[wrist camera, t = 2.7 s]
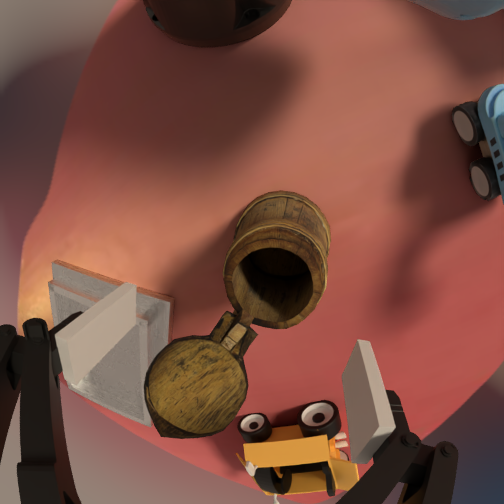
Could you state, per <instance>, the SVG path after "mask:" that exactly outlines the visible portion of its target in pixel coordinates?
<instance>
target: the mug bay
mask: <svg viewBox="0 0 504 504" xmlns="http://www.w3.org/2000/svg"><path fill="white" fill-rule="evenodd" d="M52 272H53V280H51V281H49V282H48V286H49V294H50V302H51V309H52V315H53V321H54V327H55V326H56V325H58V324H59V323H61V322H62V321H63V320H64V319H66V318H67V317H69V316H70V315H71V314H73V313H76V312H79V311H81V312H85V311H87V310H88V309H89V308H91V307H92V306H93V305H95V304H96V303H97V302H99V301H100V300H102V299H103V298H104V297H106V296H107V295H108V294H110V293H111V292H113V291H114V290H115V289H117V288H118V287H120V286H121V285H122V284H124V282H121V281H118V280H115V279H112V278H109V277H106V276H103V275H100V274H97V273H94V272H91V271H88V270H85V269H83V268H80V267H77V266H74V265H71V264H68V263H66V262H63V261H60V260H55V261H53V262H52ZM173 310H174V297H170V296H167V295H163V294H160V293H157V292H153V291H150V290H147V289H143V288H140V287H136V324H135V325H134V326H133V327H132V328H131V329H130V330H129V331H128V332H127V333H126V335H125V336H124V337H123V338H122V339H121V340H120V341H119V342H118V343H117V344H116V345H115V346H114V347H113V348H112V349H111V350H110V351H109V352H108V353H107V354H106V355H105V356H104V357H103V358H102V359H101V360H100V361H99V362H98V363H97V364H96V365H95V366H94V367H93V368H92V369H91V371H90V372H89V373H88V374H87V375H86V376H85V377H84V378H83V379H82V380H81V381H80V382H79V383H78V384H77V385H74V384H72V383H70V382H69V381H67V384H68V387H69V389H71V390H72V391H74V392H76V393H78V394H80V395H82V396H83V397H85V398H87V399H89V400H91V401H93V402H95V403H97V404H99V405H101V406H103V407H105V408H107V409H109V410H112V411H114V412H116V413H118V414H120V415H122V416H125V417H127V418H129V419H132V420H134V421H136V422H139V423H141V424H144V425H146V426H149V427H152V425H153V421H152V419H151V417H150V415H149V412H148V410H147V407H146V403H145V399H144V381H145V376H146V372H147V370H148V368H149V366H150V364H151V362H152V361H153V359H154V358H155V357H156V355H157V354H158V353H159V352H160V351H161V350H162V349H163V348H164V347H165V346H166V345H168V344H169V343H170V342H172V325H173Z"/></svg>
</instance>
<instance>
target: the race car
mask: <svg viewBox="0 0 504 504" xmlns="http://www.w3.org/2000/svg"><path fill="white" fill-rule="evenodd" d="M297 421H298V424H299V425H293V426H286V427H277V428H272V427H271V425H270V423H269V420H268V418H267V417H266V415H264V414H262V413H253V414H248V415H246V416H244V417H243V418H242V419H241V420H240V421H239V423H238V430H239V432H240V433H241V435H242V437H243V439H244V440H245V441H246V442H247V444H243V446H244V454H245V461H246V463H245V462H244V460H243V459H242V458H241V457H240V456H239V455H238V453H235V454H236V455H237V457H238V458H239V460H240V461H241V463H242V464H243V466H244V467H245V468H246V470H247V472H248V473H249V474H250V476H251V477H252V478H253V480H254V481H255V482H256V484H257V485H258V486H259V487H260V488H261V490H262V491H263V492H264V493H265V494H266V495H274V503H273V504H279V502H278V501H277V500H276V497H277V495H284V494H299V493H309V492H318V491H326V490H327V493H328V495H329V496H335V489H342V490H347V491H349V490H350V489H351V488H352V487H353V486H354V485H355V484H356V483H357V482H358V481H359V476H358V470H357V463H352V462H351V461H349V458H348V455H347V454H346V453H345V452H343V451H341V450H339V449H336V448H341V447H346V446H348V444H347V442H346V441H345V440H342V441H338V442H335V439H336V440H337V439H343V438H347V437H346V435H345V433H344V432H343V431H342V432H339V431H340V429H341V420H340V415H339V411H338V408H337V406H336V405H335V404H334V403H333V402H330V401H326V400H321V401H316V402H311V403H309V404H307V405H306V406H304V407H303V408H302V409H301V410H300V412H299V413H298V416H297Z"/></svg>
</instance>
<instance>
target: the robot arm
mask: <svg viewBox="0 0 504 504" xmlns="http://www.w3.org/2000/svg"><path fill="white" fill-rule="evenodd" d="M291 1H292V0H143V2H144V5H145V7H146V11H147V13H148V16H149V18H150V19H151V21H152V22H153V24H154V25H155V26H156V27H157V28H158V29H160V30H161V31H162V32H163V33H164V34H166V35H167V36H168V37H170V38H171V39H173V40H175V41H177V42H179V43H182V44H185V45H189V46H195V47H218V46H225V45H230V44H234V43H238V42H241V41H244V40H246V39H249V38H251V37H254V36H256V35H258V34H260V33H261V32H263V31H265V30H266V29H268V28H269V27H270V26H272V25H273V24H274V23H275V22H277V21H278V20H279V19H280V18H281V17H282V15H283V14H284V13H285V12H286V10H287V9H288V7H289V5H290V3H291ZM408 1H410V2H412V3H415V4H417V5H419V6H422V7H424V8H426V9H428V10H430V11H432V12H434V13H436V14H438V15H441V16H443V17H446V18H450V19H454V20H472V19H475V18H477V17H485V16H489V15H491V14H493V13H495V12H497V11H499V10H501V9H503V8H504V0H408ZM136 287H137V285H134V284H131V283H128V282H125V283H124V284H122V285H121V286H120V287H118V288H117V289H115V290H114V291H113V292H111V293H110V294H108V295H107V296H106V297H104V298H103V299H102V300H100V301H99V302H97V303H96V304H95V305H93V306H92V307H91V308H89V309H88V310H87V311H85V312H81V311H79V312H76V313H73V314H71V315H70V316H69V317H67V318H66V319H64V320H63V321H62V322H61V323H59V324H58V325H56V326H55V327H54V328H52V329H51V330H50V331H48V328H47V323H46V322H45V321H44V320H43V319H40V318H32V319H29V320H27V321H25V322H24V323H23V325H22V326H23V331H24V335H25V337H23V336H20V335H17V332H16V328H15V327H14V326H12V325H7V324H6V325H1V326H0V462H1V458H2V453H3V449H4V445H5V441H6V437H7V433H8V429H9V426H10V422H11V419H12V415H13V412H14V409H15V406H16V403H17V400H18V397H19V393H20V391H21V394H20V395H21V396H20V445H21V462H20V463H18V464H17V477H18V486H19V493H20V499H21V504H81V501H80V499H79V497H78V494H77V492H76V488H75V484H74V480H73V475H72V471H71V467H70V461H69V456H68V451H67V445H66V439H65V432H64V425H63V417H62V407H61V397H60V383H59V376H58V374H59V373H61V372H62V371H63V375H64V379H65V380H67V381H69V382H70V383H72V384H74V385H77V384H78V383H79V382H80V381H81V380H82V379H83V378H84V377H85V376H86V375H87V374H88V373H89V372H90V371H91V369H92V368H93V367H94V366H95V365H96V364H97V363H98V362H99V361H100V360H101V359H102V358H103V357H104V356H105V355H106V354H107V353H108V352H109V351H110V350H111V349H112V348H113V347H114V346H115V345H116V344H117V343H118V342H119V341H120V340H121V339H122V338H123V337H124V336H125V335H126V333H127V332H128V331H129V330H130V329H131V328H132V327H133V326H134V325H135V324H136ZM342 382H343V389H344V397H345V405H346V413H347V421H348V430H349V440H350V450H351V461H352V463H357V464H367V463H368V462H369V461H370V460H371V458H372V457H373V461H374V464H373V465H372V466H371V467H370V469H369V470H368V471H367V472H366V473H365V474H364V475H363V476H362V477H361V479H360V480H359V481H358V482H357V483H356V484H355V485H354V486H353V487H352V488H351V489H350V490H349V491H348V492H347V493H346V494H345V495H344V496H343V497H342V498H341V499H340V500H339V501H338V502H337V503H336V504H382V503H383V502H384V500H385V499H386V498H387V496H388V495H389V494H390V492H391V491H392V490H393V488H394V487H395V486H396V484H397V483H398V482H403V483H405V484H404V487H403V490H402V492H401V495H400V498H399V500H398V503H397V504H451V500H452V495H453V489H454V483H455V477H456V470H457V462H458V450H457V448H456V447H455V446H454V445H453V444H452V443H450V442H446V441H443V442H440V443H438V444H437V445H436V447H431V446H427V445H424V444H421V440H420V439H419V437H418V436H417V435H416V434H414V433H412V432H410V430H409V427H408V423H407V420H406V417H405V414H404V412H403V408H402V406H401V401H400V398H399V397H398V396H397V394H396V393H395V392H394V391H392V390H385V387H384V384H383V381H382V378H381V374H380V371H379V368H378V365H377V362H376V359H375V356H374V353H373V350H372V347H371V344H370V341H365V340H359V339H357V342H356V344H355V347H354V349H353V351H352V354H351V356H350V358H349V361H348V363H347V365H346V367H345V370H344V372H343V374H342Z"/></svg>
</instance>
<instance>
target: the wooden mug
mask: <svg viewBox="0 0 504 504" xmlns="http://www.w3.org/2000/svg"><path fill="white" fill-rule="evenodd" d="M330 242H331V235H330V226H329V224H328V222H327V220H326V218H325V216H324V214H323V213H322V212H321V210H320V209H319V208H318V206H317V205H316V204H314V203H313V202H312V201H310V200H309V199H308V198H307V197H304V196H302V195H299V194H297V193H295V192H288V191H275V192H268V193H266V194H264V195H261V196H259V197H257V198H256V199H255V200H254V201H253V202H252V203H250V204H249V205H248V207H247V208H246V210H245V211H244V213H243V214H242V216H241V218H240V220H239V222H238V224H237V226H236V231H235V236H234V242H233V243H232V245H231V247H230V249H229V250H228V252H227V254H226V259H225V263H224V268H223V276H224V283H225V287H226V292H227V296H228V298H229V300H230V302H231V304H232V306H233V308H234V309H235V310H234V312H233V313H231V312H228V311H226V312H225V313H224V314H223V315H222V317H221V319H220V320H219V322H218V323H217V325H216V326H215V328H214V329H213V330H212V332H211V333H210V335H206V336H196V335H192V336H187V337H183V338H178V339H174V340H173V341H172V342H170V343H169V344H168V345H166V346H165V347H164V348H163V349H162V350H161V351H160V352H159V353H158V354H157V355H156V357H155V358H154V359H153V361H152V362H151V364H150V366H149V368H148V370H147V372H146V376H145V381H144V399H145V403H146V407H147V410H148V412H149V415H150V417H151V419H152V421H153V423H154V426H155V427H156V429H157V431H158V432H159V434H160V436H161V437H168V438H179V439H184V438H200V437H206V436H212V435H214V434H216V433H219V432H221V431H223V430H224V429H225V428H226V427H227V426H228V425H229V424H230V423H231V422H232V420H233V419H234V418H235V416H236V415H237V413H238V411H239V410H240V408H241V406H242V404H243V402H244V401H245V399H246V395H247V390H248V379H247V373H246V369H245V365H244V360H243V356H244V354H245V353H246V351H247V349H248V348H249V346H250V344H251V343H252V342H253V340H254V339H255V338H256V336H257V335H258V334H257V333H256V332H255V331H254V330H253V329H252V328H251V327H250V324H251V323H252V324H255V325H258V326H262V327H267V328H272V329H287V328H289V327H292V326H294V325H297V324H299V323H300V322H301V321H303V320H304V319H305V318H306V317H307V316H308V315H309V314H310V313H311V312H312V311H313V310H314V309H315V307H316V305H317V304H318V303H319V301H320V299H321V297H322V295H323V293H324V291H325V288H326V282H327V272H328V265H327V257H328V255H329V246H330Z"/></svg>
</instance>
